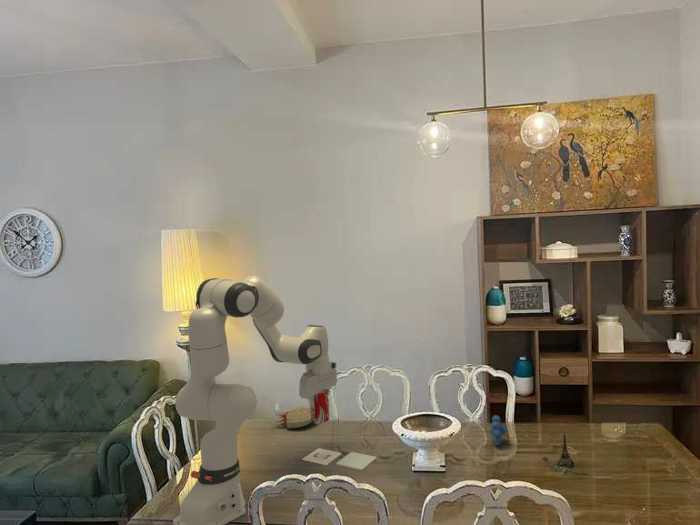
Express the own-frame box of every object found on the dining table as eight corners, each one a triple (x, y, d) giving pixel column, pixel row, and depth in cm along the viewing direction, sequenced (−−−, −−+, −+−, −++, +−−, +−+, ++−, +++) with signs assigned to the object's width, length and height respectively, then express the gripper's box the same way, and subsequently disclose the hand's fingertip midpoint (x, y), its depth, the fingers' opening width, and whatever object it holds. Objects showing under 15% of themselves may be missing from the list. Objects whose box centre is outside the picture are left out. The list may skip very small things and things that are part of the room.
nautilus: (267, 434, 219) (273, 423, 234) (317, 429, 219) (319, 418, 234) (266, 416, 219) (271, 406, 234) (315, 411, 219) (317, 401, 234)
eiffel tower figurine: (540, 458, 184) (539, 422, 183) (567, 456, 184) (566, 420, 184) (559, 477, 169) (558, 438, 168) (589, 475, 169) (588, 436, 169)
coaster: (362, 470, 179) (362, 469, 179) (336, 464, 185) (336, 463, 185) (376, 458, 189) (376, 457, 189) (351, 453, 194) (351, 451, 194)
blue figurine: (509, 452, 189) (508, 420, 188) (490, 451, 191) (489, 419, 190) (508, 440, 200) (507, 410, 199) (490, 438, 202) (489, 409, 201)
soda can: (327, 425, 188) (325, 393, 187) (308, 424, 189) (307, 393, 188) (331, 418, 194) (330, 387, 194) (313, 417, 196) (312, 387, 195)
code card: (326, 465, 185) (326, 464, 185) (301, 459, 191) (301, 459, 190) (342, 453, 194) (342, 453, 194) (318, 448, 200) (318, 448, 200)
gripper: (308, 374, 180) (310, 413, 181) (339, 362, 198) (340, 397, 198) (294, 373, 184) (295, 410, 184) (325, 360, 201) (327, 395, 202)
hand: (319, 403), depth 191 cm, fingers closed on soda can, 7 cm apart
